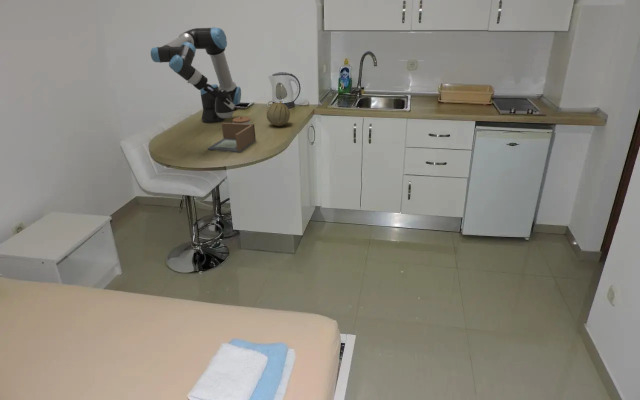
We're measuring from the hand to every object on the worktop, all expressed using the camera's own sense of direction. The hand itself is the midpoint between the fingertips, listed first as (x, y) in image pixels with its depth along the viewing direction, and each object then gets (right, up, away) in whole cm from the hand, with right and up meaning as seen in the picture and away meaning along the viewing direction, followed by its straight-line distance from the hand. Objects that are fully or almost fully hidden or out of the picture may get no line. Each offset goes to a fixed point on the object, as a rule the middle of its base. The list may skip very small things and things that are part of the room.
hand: (229, 105), depth 244 cm
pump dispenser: (-2, -6, +1) cm, 7 cm away
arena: (-1, -21, +9) cm, 23 cm away
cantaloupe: (+23, -4, +42) cm, 49 cm away
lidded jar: (+1, -9, +34) cm, 35 cm away
